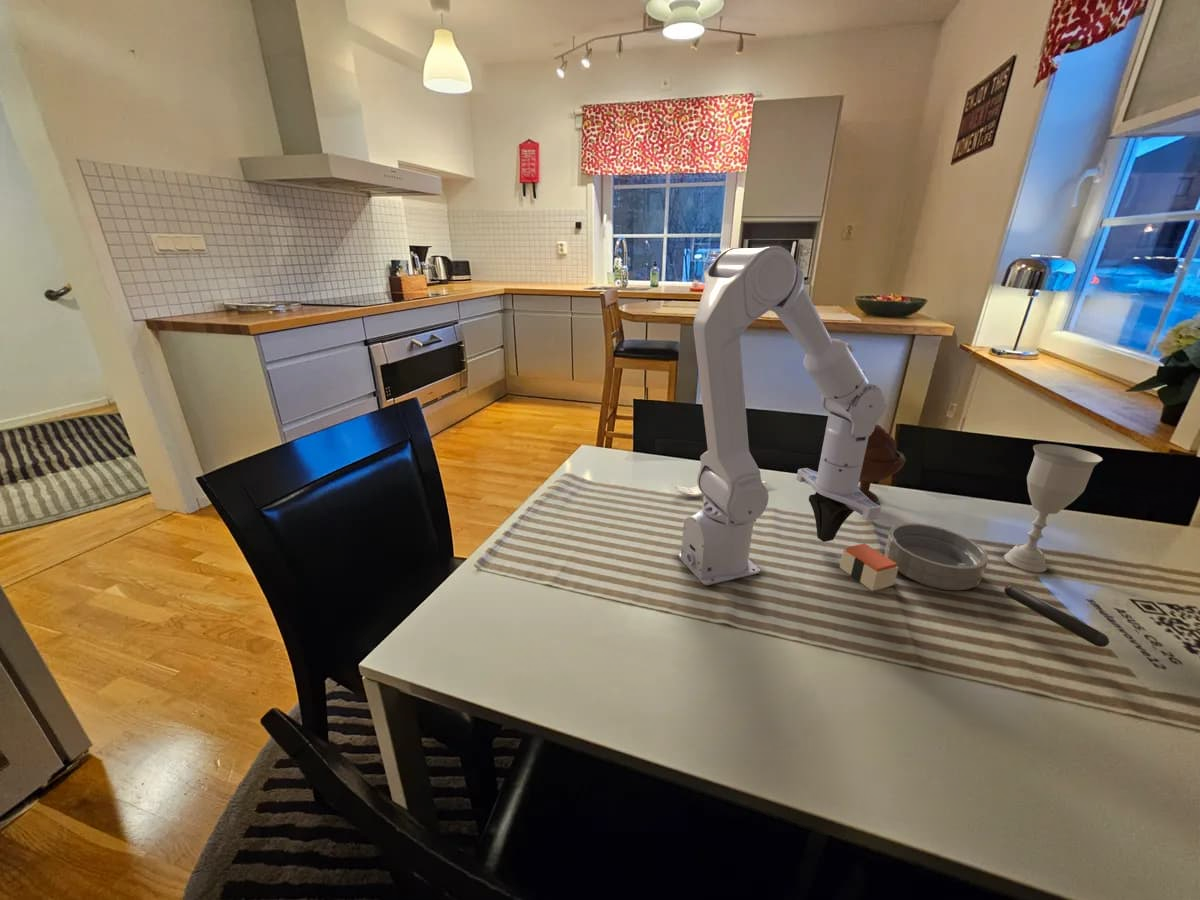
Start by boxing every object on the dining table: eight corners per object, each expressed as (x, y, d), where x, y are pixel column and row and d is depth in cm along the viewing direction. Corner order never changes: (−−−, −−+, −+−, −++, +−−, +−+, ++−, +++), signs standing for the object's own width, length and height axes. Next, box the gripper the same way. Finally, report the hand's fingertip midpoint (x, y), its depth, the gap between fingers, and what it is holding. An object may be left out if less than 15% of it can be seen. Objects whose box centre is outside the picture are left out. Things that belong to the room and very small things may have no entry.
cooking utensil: (770, 488, 98) (771, 480, 97) (676, 498, 93) (676, 489, 93) (761, 482, 101) (762, 473, 100) (670, 491, 96) (670, 482, 96)
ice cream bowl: (890, 517, 88) (909, 438, 82) (824, 499, 94) (838, 425, 88) (899, 496, 95) (917, 422, 90) (837, 481, 102) (851, 411, 96)
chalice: (999, 567, 73) (1039, 455, 67) (991, 545, 79) (1027, 440, 73) (1062, 581, 70) (1111, 466, 64) (1049, 557, 76) (1092, 449, 69)
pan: (938, 600, 66) (946, 575, 65) (865, 553, 77) (870, 530, 75) (1000, 582, 70) (1008, 558, 69) (921, 539, 81) (927, 517, 79)
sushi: (872, 591, 68) (877, 570, 67) (838, 567, 73) (843, 547, 72) (894, 585, 69) (900, 564, 68) (860, 562, 74) (864, 542, 73)
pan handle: (1100, 651, 54) (1106, 640, 54) (999, 594, 64) (1003, 584, 63) (1109, 648, 55) (1114, 636, 54) (1008, 591, 64) (1011, 581, 64)
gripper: (904, 475, 68) (883, 558, 73) (826, 440, 80) (812, 513, 85) (865, 482, 65) (845, 567, 70) (791, 445, 78) (779, 520, 83)
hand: (825, 538), depth 78 cm, fingers closed
